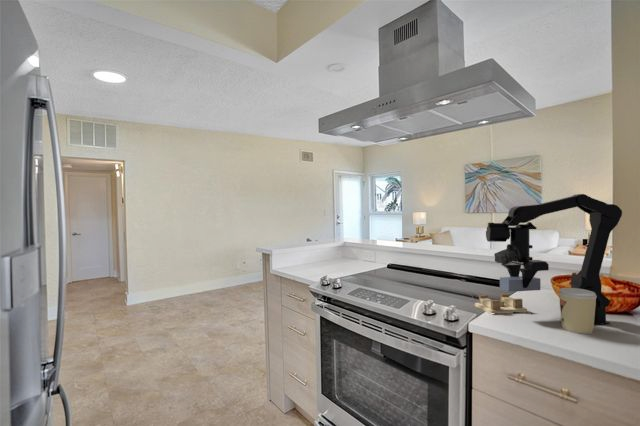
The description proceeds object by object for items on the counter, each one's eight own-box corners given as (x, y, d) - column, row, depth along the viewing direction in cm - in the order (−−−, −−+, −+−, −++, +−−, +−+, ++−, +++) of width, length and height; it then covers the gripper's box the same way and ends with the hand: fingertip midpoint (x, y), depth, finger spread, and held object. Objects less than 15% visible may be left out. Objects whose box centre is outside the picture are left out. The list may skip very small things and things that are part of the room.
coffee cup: (561, 321, 108) (561, 286, 108) (598, 328, 101) (598, 290, 101) (556, 329, 101) (555, 291, 101) (594, 337, 95) (594, 297, 94)
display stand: (527, 312, 118) (527, 299, 118) (491, 314, 116) (491, 302, 116) (507, 304, 128) (507, 292, 128) (475, 306, 126) (474, 294, 126)
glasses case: (540, 290, 111) (540, 278, 111) (508, 291, 110) (508, 280, 110) (530, 286, 116) (530, 275, 116) (499, 288, 114) (499, 277, 114)
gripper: (481, 239, 121) (481, 281, 121) (518, 245, 102) (518, 294, 103) (508, 239, 122) (508, 279, 122) (550, 244, 104) (550, 292, 104)
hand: (519, 286), depth 113 cm, fingers closed on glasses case, 4 cm apart
